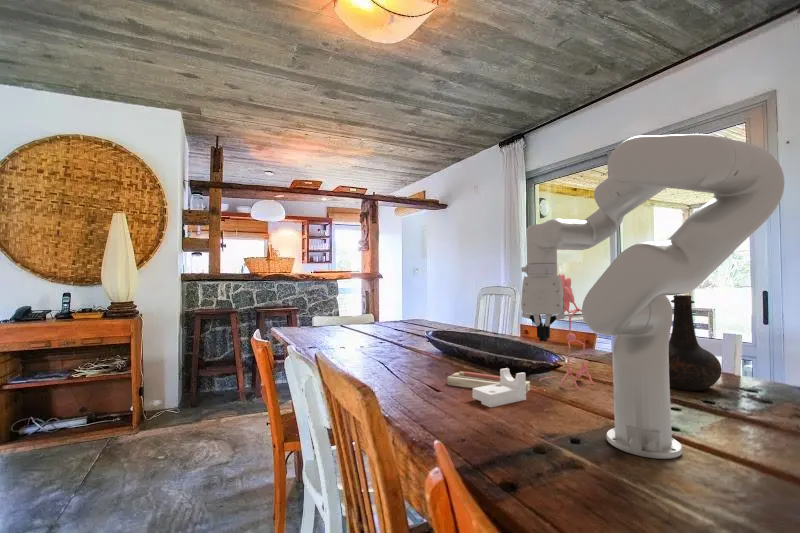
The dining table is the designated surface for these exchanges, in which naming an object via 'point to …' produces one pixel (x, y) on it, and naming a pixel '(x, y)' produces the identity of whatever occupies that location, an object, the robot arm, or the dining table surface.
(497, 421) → the dining table surface
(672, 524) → the dining table surface
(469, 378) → the board
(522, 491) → the dining table surface
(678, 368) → the glass bottle
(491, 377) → the pencil
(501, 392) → the bracket
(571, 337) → the figurine
